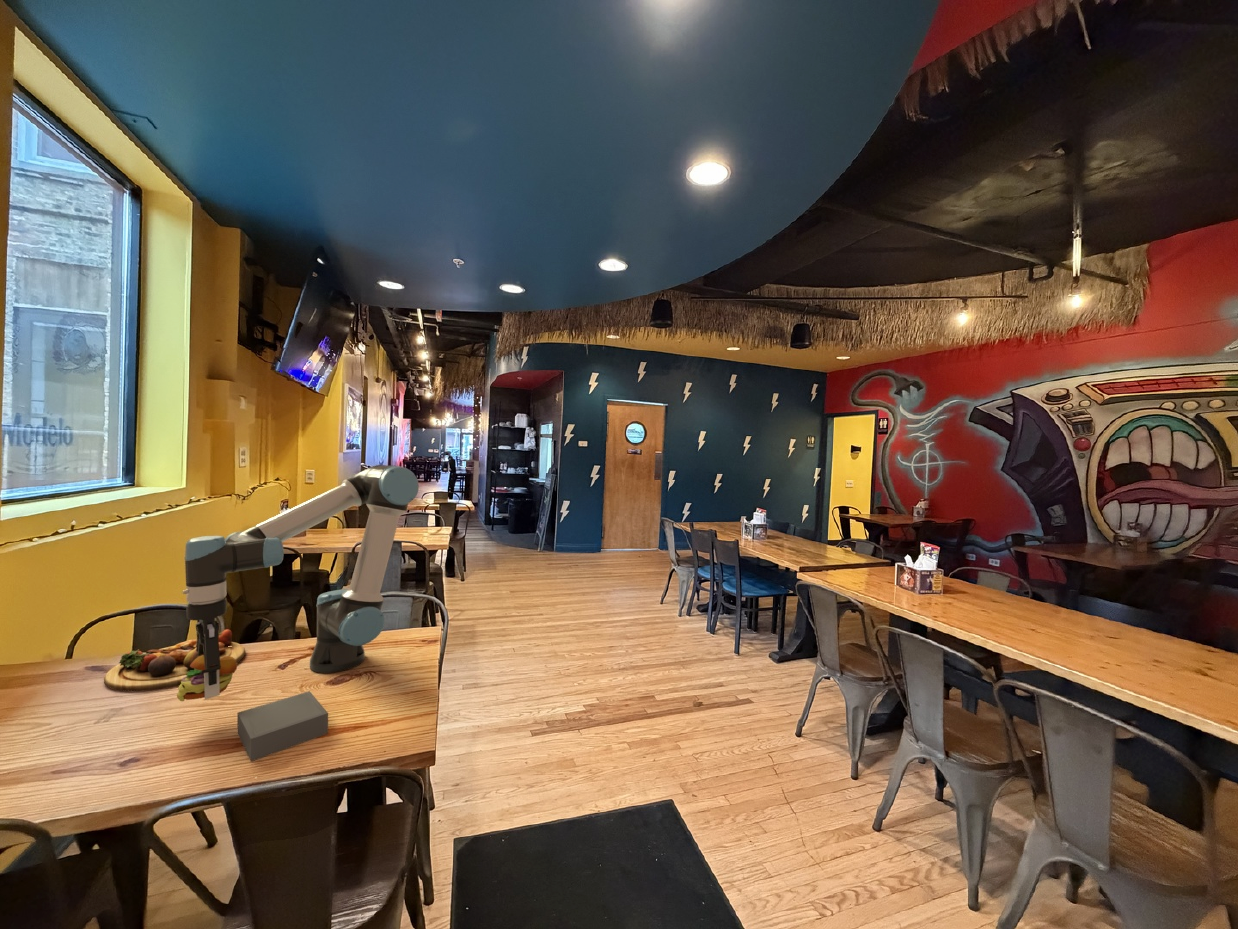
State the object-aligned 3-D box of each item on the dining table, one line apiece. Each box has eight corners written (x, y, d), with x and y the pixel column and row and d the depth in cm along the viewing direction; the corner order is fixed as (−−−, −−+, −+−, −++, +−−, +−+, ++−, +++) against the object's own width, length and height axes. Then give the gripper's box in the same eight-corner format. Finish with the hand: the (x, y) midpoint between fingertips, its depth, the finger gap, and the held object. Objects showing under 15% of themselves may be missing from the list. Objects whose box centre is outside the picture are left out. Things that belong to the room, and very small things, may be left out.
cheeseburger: (166, 697, 117) (177, 653, 118) (218, 688, 126) (228, 648, 128) (185, 707, 112) (197, 662, 114) (238, 698, 121) (248, 656, 123)
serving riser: (309, 710, 127) (309, 691, 126) (327, 733, 116) (328, 713, 116) (237, 733, 116) (237, 712, 115) (250, 761, 105) (250, 739, 105)
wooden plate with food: (220, 640, 171) (220, 617, 171) (263, 662, 155) (263, 636, 155) (89, 674, 144) (89, 646, 144) (124, 705, 127) (124, 674, 127)
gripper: (180, 593, 124) (183, 678, 125) (192, 615, 108) (194, 712, 109) (218, 587, 129) (220, 669, 130) (234, 607, 114) (236, 699, 115)
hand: (208, 689), depth 120 cm, fingers closed on cheeseburger, 10 cm apart
